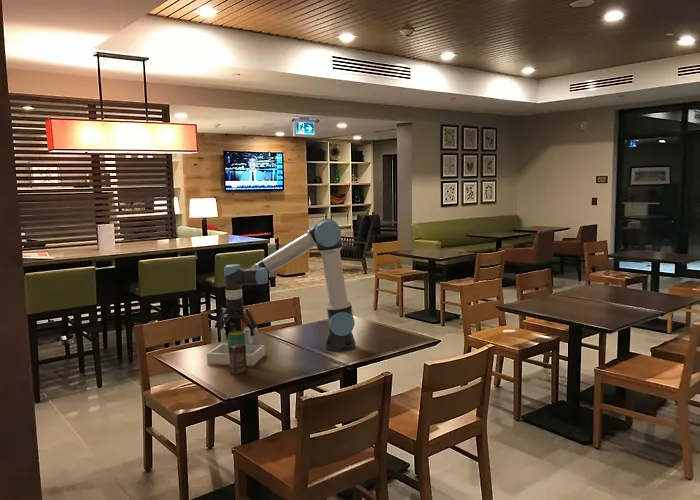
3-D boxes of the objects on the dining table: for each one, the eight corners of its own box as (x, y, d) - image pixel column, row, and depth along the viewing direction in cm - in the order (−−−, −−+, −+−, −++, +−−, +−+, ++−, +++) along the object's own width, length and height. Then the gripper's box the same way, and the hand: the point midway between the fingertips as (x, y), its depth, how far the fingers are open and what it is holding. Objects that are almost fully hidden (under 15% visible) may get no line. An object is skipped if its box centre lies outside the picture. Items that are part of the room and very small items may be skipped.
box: (240, 369, 249) (239, 343, 247) (247, 371, 246) (246, 344, 244) (229, 373, 244) (228, 346, 243) (236, 375, 241) (234, 348, 240)
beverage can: (249, 356, 265) (248, 331, 264) (239, 361, 258) (238, 335, 257) (235, 354, 269) (234, 329, 267) (225, 359, 261) (223, 334, 260)
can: (255, 354, 271) (254, 330, 269) (241, 353, 272) (240, 329, 271) (261, 349, 278) (260, 326, 277) (247, 349, 280) (246, 325, 278)
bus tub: (265, 355, 269) (264, 345, 268) (252, 366, 253) (252, 355, 253) (222, 353, 273) (221, 343, 273) (207, 363, 258) (207, 353, 257)
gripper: (262, 296, 261) (265, 340, 264) (212, 296, 266) (215, 339, 269) (256, 299, 254) (259, 345, 256) (205, 299, 259) (208, 344, 261)
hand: (237, 342), depth 263 cm, fingers open, 13 cm apart
